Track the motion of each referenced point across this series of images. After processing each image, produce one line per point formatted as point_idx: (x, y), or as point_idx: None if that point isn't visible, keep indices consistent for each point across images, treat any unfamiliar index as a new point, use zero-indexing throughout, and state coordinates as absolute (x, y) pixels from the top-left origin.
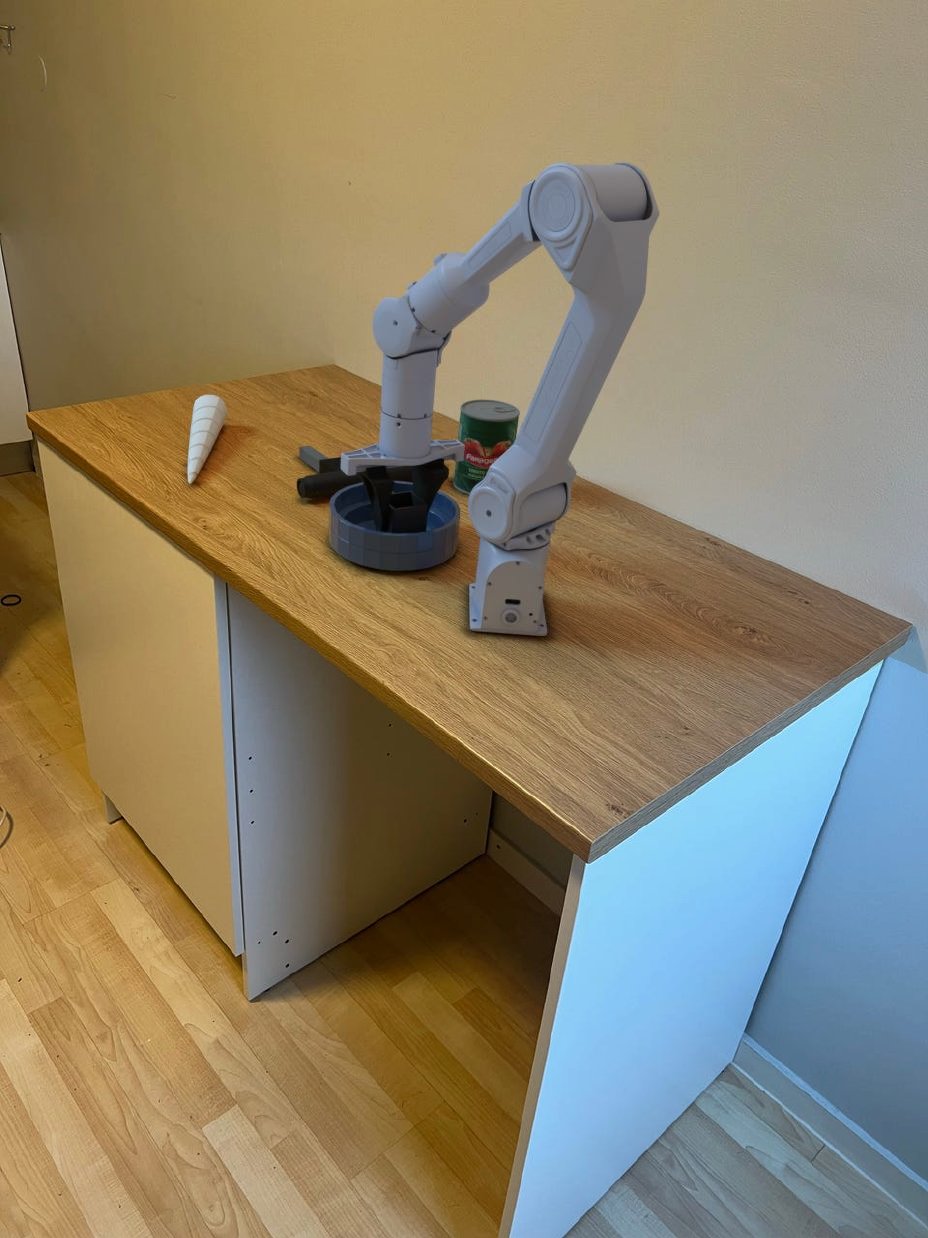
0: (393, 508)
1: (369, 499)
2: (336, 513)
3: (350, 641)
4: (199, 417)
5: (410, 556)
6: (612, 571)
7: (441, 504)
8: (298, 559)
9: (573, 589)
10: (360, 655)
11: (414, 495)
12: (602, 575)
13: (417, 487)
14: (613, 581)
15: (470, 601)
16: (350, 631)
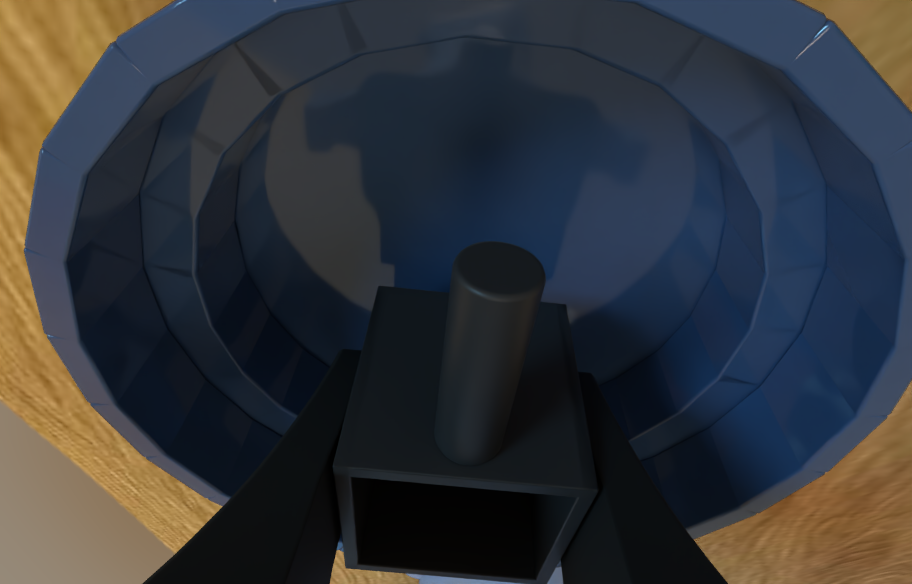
0: (352, 561)
1: (268, 457)
2: (77, 358)
3: (159, 513)
4: None
5: None
6: (890, 556)
7: (825, 351)
8: (18, 192)
9: (725, 559)
10: (171, 537)
11: (561, 525)
12: (849, 556)
13: (599, 569)
14: (835, 571)
15: None
16: (164, 498)
